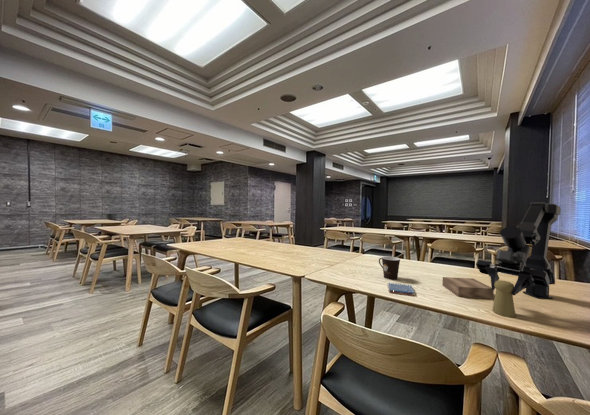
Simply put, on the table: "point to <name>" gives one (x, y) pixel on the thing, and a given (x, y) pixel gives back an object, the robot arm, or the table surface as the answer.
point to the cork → (504, 299)
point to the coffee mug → (390, 267)
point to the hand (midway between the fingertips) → (502, 291)
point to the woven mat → (401, 289)
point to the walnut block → (468, 287)
